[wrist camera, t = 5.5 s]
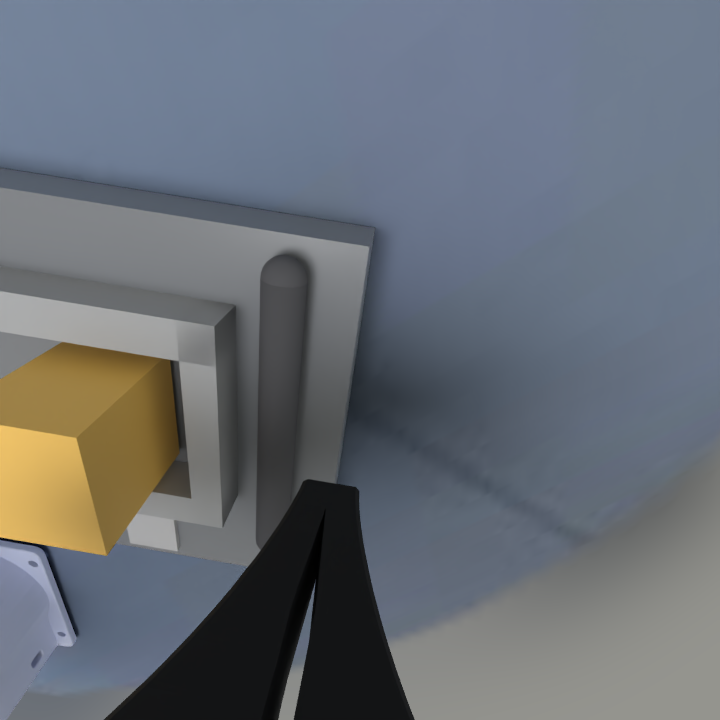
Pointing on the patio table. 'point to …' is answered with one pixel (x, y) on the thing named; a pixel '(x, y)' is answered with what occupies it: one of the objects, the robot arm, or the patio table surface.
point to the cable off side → (278, 387)
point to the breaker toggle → (83, 444)
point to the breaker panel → (186, 331)
